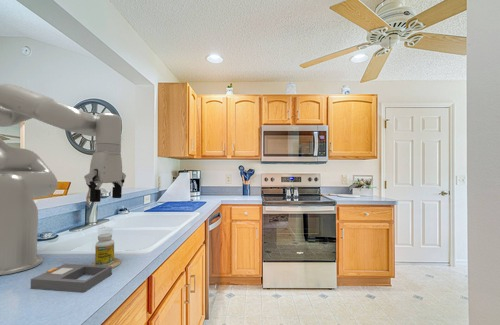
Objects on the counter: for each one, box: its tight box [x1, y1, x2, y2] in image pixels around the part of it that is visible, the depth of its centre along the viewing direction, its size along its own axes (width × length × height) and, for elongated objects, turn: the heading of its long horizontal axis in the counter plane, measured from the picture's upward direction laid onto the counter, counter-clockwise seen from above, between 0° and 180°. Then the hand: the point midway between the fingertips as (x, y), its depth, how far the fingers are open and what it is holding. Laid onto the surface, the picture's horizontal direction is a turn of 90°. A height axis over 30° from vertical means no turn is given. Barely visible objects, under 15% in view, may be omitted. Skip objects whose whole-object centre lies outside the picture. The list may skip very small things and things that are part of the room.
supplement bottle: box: [94, 233, 115, 266], centre depth 75 cm, size 5×5×10 cm
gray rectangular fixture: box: [30, 263, 113, 293], centre depth 65 cm, size 16×10×3 cm, turn 83°
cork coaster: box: [90, 257, 122, 269], centre depth 75 cm, size 9×9×1 cm
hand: (106, 199), depth 76 cm, fingers open, 9 cm apart
